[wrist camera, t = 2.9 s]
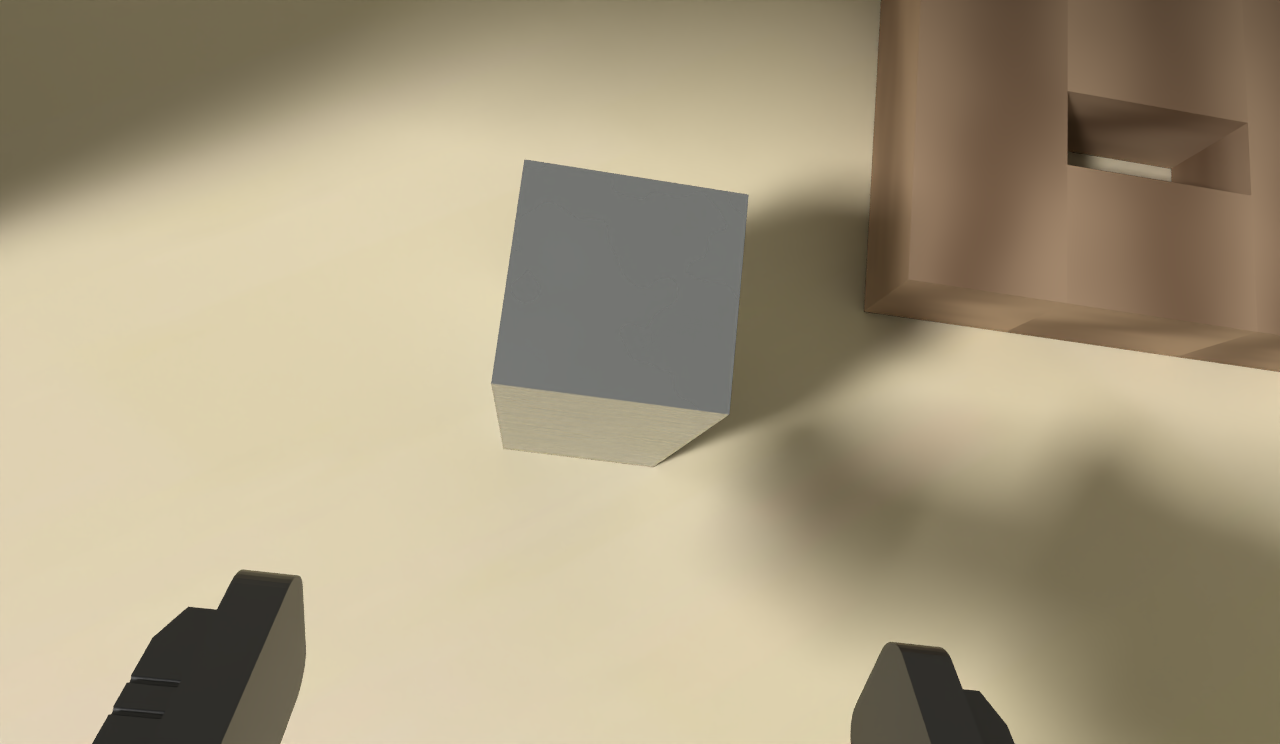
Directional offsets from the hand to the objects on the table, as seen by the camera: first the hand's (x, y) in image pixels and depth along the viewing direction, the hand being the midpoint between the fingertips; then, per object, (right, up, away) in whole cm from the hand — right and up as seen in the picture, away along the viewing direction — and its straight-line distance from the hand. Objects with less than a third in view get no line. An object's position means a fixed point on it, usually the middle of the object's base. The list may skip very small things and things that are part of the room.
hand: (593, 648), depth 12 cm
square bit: (-1, +3, +12) cm, 12 cm away
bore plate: (+15, +15, +16) cm, 27 cm away
